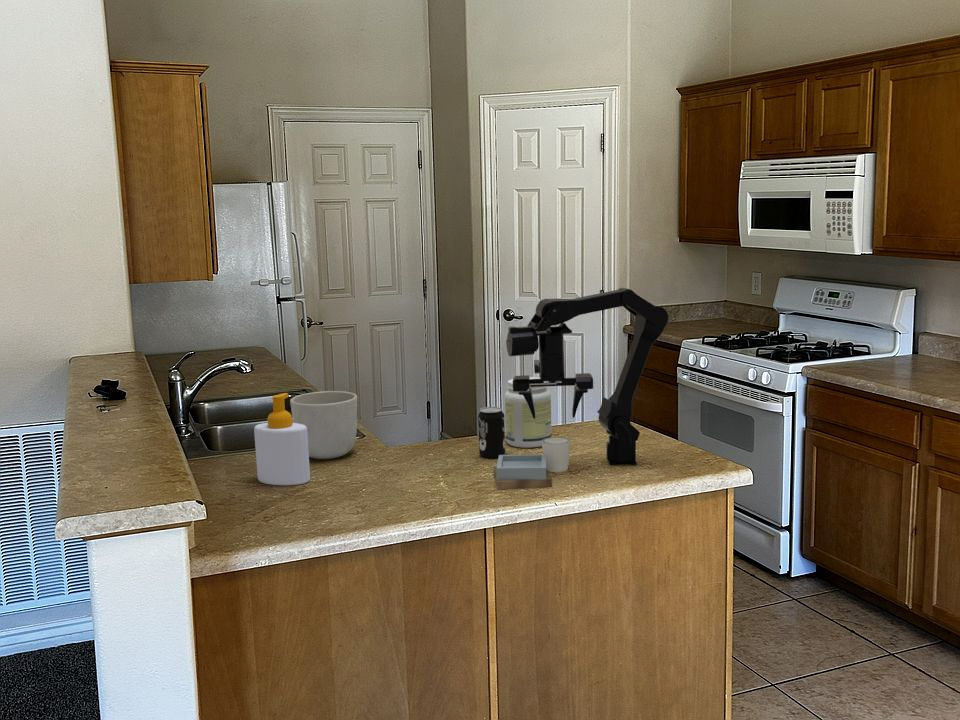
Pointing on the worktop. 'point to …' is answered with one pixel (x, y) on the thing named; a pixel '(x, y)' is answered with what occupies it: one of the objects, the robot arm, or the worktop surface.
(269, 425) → the soap bottle
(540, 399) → the supplement tub
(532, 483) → the slab bottom
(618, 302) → the robot arm
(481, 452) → the beverage can
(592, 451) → the worktop surface
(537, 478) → the slab top
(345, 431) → the planter
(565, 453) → the shot glass
